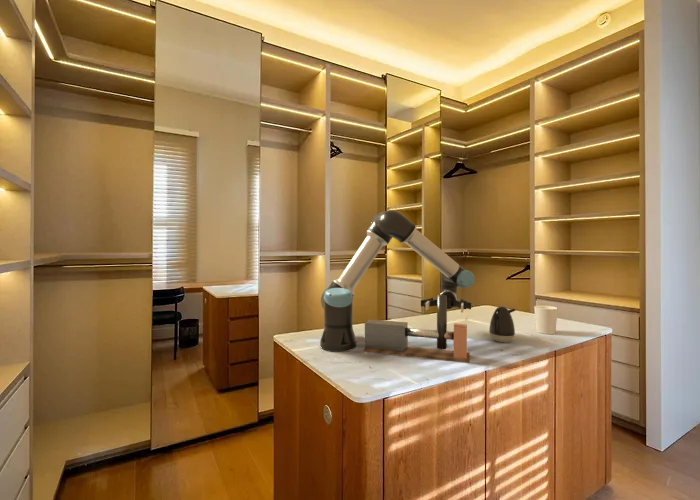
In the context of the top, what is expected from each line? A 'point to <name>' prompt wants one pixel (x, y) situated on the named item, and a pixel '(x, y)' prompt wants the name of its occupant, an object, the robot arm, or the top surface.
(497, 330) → the pump dispenser
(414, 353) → the base board
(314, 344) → the top surface
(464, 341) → the socket
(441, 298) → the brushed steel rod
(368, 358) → the top surface
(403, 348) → the box on wooden plank
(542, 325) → the candle holder
